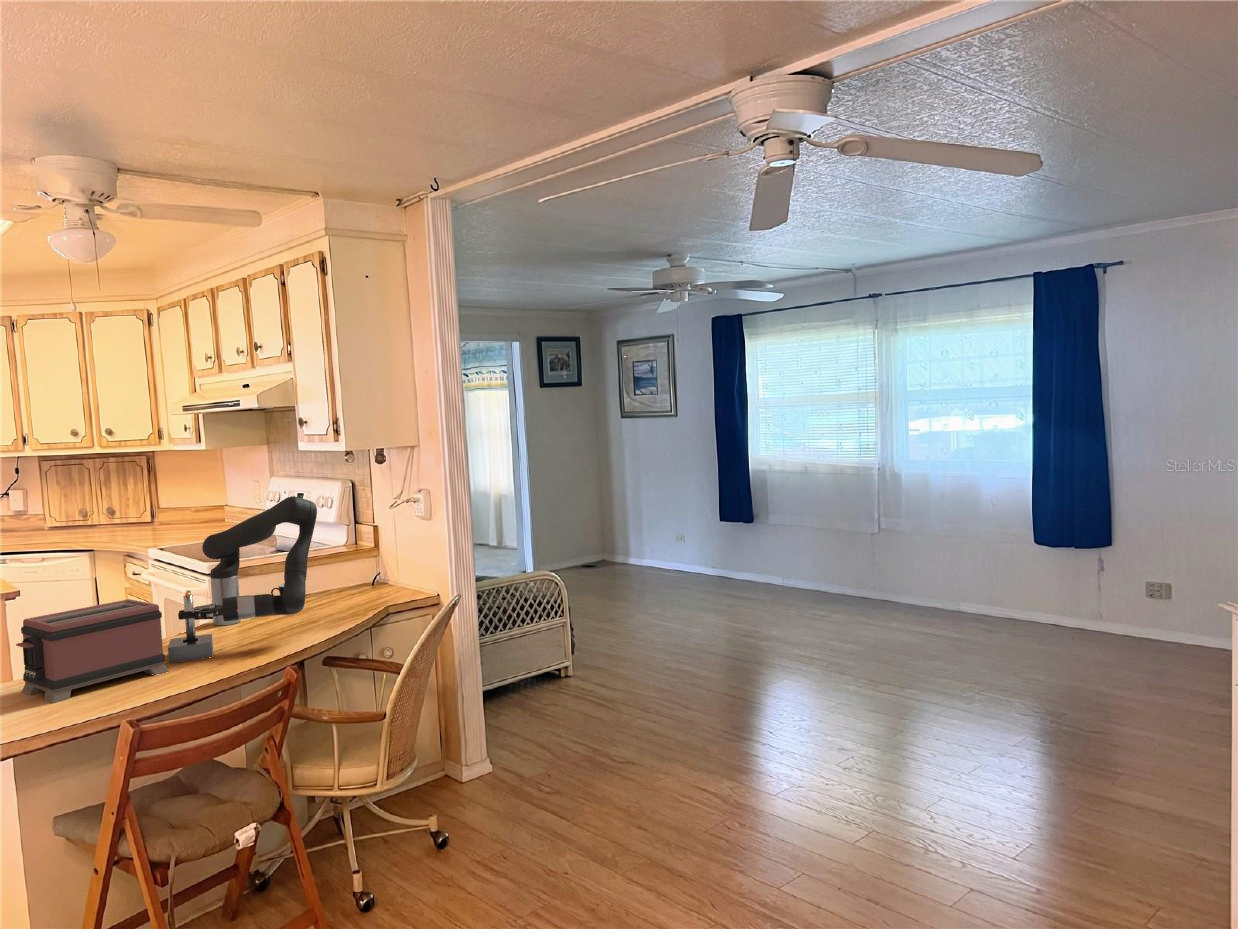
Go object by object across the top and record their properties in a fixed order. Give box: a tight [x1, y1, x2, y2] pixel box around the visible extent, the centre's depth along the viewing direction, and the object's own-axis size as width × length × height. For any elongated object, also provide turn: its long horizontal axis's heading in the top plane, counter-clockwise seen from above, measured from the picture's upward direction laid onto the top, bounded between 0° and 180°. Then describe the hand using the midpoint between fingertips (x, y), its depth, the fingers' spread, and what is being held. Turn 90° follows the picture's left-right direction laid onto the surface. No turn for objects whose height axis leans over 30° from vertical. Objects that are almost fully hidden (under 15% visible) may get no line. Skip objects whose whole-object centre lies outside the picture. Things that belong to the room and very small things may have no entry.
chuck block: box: [167, 633, 214, 665], centre depth 267 cm, size 12×12×5 cm
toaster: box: [15, 598, 170, 704], centre depth 241 cm, size 19×34×21 cm, turn 146°
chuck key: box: [183, 590, 197, 642], centre depth 266 cm, size 6×3×16 cm, turn 25°
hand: (179, 615), depth 265 cm, fingers closed on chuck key, 2 cm apart
